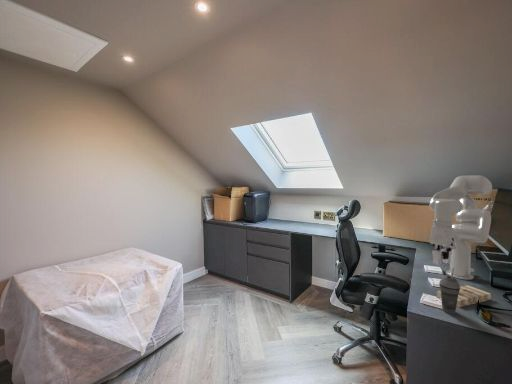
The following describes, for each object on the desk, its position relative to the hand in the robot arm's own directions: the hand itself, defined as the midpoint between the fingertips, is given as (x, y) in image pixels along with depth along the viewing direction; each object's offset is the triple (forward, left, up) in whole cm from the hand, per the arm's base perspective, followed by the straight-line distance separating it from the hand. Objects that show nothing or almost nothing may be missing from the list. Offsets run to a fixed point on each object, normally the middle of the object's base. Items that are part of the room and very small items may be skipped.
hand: (442, 257), depth 127 cm
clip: (0, 0, -3) cm, 3 cm away
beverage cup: (+19, +17, -17) cm, 31 cm away
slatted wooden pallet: (0, +11, -17) cm, 20 cm away
